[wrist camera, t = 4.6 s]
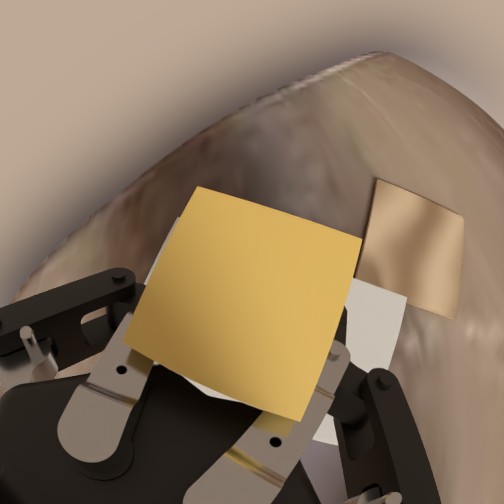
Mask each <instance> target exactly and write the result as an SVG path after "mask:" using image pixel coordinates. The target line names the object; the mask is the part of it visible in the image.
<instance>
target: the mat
mask: <svg viewBox="0 0 504 504" xmlns="http://www.w3.org/2000/svg"><path fill="white" fill-rule="evenodd" d="M463 249H464V218H463V217H461V216H459V215H457V214H455V213H453V212H451V211H449V210H447V209H445V208H443V207H441V206H439V205H437V204H435V203H433V202H431V201H429V200H426V199H424V198H422V197H420V196H418V195H415V194H413V193H411V192H408V191H406V190H404V189H401V188H399V187H397V186H394V185H392V184H389V183H387V182H384V181H382V180H379V179H377V181H376V184H375V190H374V195H373V201H372V206H371V211H370V216H369V221H368V225H367V230H366V234H365V239H364V243H363V247H362V252H361V256H360V260H359V264H358V267H357V271H356V275H355V279H358V280H360V281H363V282H366V283H369V284H372V285H374V286H377V287H380V288H383V289H386V290H388V291H391V292H394V293H397V294H399V295H402V296H405V297H407V301H406V303H408V304H411V305H414V306H416V307H419V308H422V309H425V310H428V311H430V312H433V313H436V314H439V315H442V316H444V317H447V318H450V319H455V318H456V317H457V310H458V304H459V296H460V288H461V279H462V267H463Z"/></svg>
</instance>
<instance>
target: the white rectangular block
mask: <svg viewBox="0 0 504 504" xmlns="http://www.w3.org/2000/svg"><path fill="white" fill-rule="evenodd" d="M179 219H180V218H179V217H177V219H176V221H175V223H174V224H173V226H172V228H171V230H170V232H169V234H168V236H167V238H166V240H165V242H164V244H163V246H162V248H161V250H160V252H159V254H158V256H157V258H156V260H155V262H154V264H153V266H152V268H151V270H150V272H149V274H148V276H147V278H146V281H145V283H144V285H147V283H148V281H149V279H150V277H151V274H152V272H153V270H154V268H155V266H156V264H157V262H158V260H159V258H160V256H161V254H162V252H163V250H164V248H165V246H166V244H167V242H168V240H169V238H170V236H171V234H172V232H173V230H174V228H175V226H176V225H177V223H178V221H179ZM406 301H407V297H405V296H402V295H399V294H397V293H394V292H391V291H388V290H386V289H383V288H380V287H377V286H374V285H372V284H369V283H366V282H363V281H360V280H358V279H355V278H352V282H351V285H350V289H349V292H348V295H347V299H346V302H345V307H346V309H347V325H346V326H347V332H346V348H347V349H348V350H349V352H350V355H351V359H350V361H351V362H352V363H353V364H354V365H356V366H357V367H359V368H360V369H362V370H364V371H366V372H367V373H369V371H370V370H372V369H374V368H384V369H386V370H388V367H389V364H390V361H391V358H392V355H393V352H394V348H395V345H396V341H397V338H398V334H399V330H400V326H401V322H402V318H403V314H404V310H405V305H406ZM183 377H184V376H183ZM184 378H186V377H184ZM186 379H187V380H188V381H189V382H191V383H192V384H193V385H194V386H196V387H197V388H198V389H200V390H201V391H202V392H203V393H205V394H206V395H208V396H212V397H216V398H221V399H226V400H232V401H237V402H241V401H238V400H236V399H233V398H231V397H228V396H226V395H224V394H221V393H219V392H217V391H214V390H212V389H210V388H208V387H205V386H203V385H201V384H199V383H197V382H195V381H192V380H190V379H188V378H186ZM242 403H243V402H242ZM245 404H246V403H245ZM247 405H249V404H247ZM250 406H251V405H250ZM253 407H254V406H253ZM255 408H257V407H255ZM258 409H259V408H258ZM261 410H262V409H261ZM312 440H316V441H320V442H324V443H329V444H333V445H338V441H337V436H336V431H335V427H334V421H333V417H332V416H330V415H329V414H326V416H325V417H324V419H323V421H322V423H321V425H320V426H319V428H318V430H317V432H316V433H315V435H314V437H313V438H312Z"/></svg>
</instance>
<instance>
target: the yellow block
mask: <svg viewBox="0 0 504 504" xmlns="http://www.w3.org/2000/svg"><path fill="white" fill-rule="evenodd" d="M361 243H362V239H360V238H357V237H354V236H352V235H349V234H346V233H343V232H341V231H338V230H335V229H332V228H329V227H326V226H323V225H321V224H318V223H315V222H312V221H309V220H306V219H303V218H300V217H297V216H294V215H291V214H288V213H285V212H282V211H278V210H275V209H272V208H269V207H266V206H263V205H260V204H256V203H253V202H250V201H247V200H243V199H240V198H237V197H233V196H230V195H226V194H223V193H220V192H216V191H213V190H209V189H206V188H202V187H198V186H197V188H196V190H195V192H194V193H193V195H192V197H191V199H190V200H189V202H188V204H187V206H186V208H185V210H184V211H183V213H182V215H181V217H180V219H179V221H178V223H177V225H176V226H175V228H174V230H173V232H172V234H171V236H170V238H169V240H168V242H167V244H166V246H165V248H164V250H163V252H162V254H161V256H160V258H159V260H158V262H157V264H156V266H155V268H154V270H153V272H152V274H151V277H150V279H149V281H148V283H147V285H146V287H145V290H144V292H143V294H142V296H141V298H140V301H139V303H138V305H137V307H136V310H135V312H134V314H133V317H132V319H131V321H130V324H129V326H128V328H127V331H126V333H125V336H124V338H123V341H122V343H124V344H126V345H127V346H129V347H131V348H132V349H134V350H136V351H138V352H139V353H141V354H143V355H144V356H146V357H148V358H150V359H152V360H153V361H155V362H157V363H159V364H161V365H163V366H165V367H166V368H168V369H170V370H172V371H174V372H176V373H178V374H180V375H182V376H184V377H186V378H188V379H190V380H192V381H195V382H197V383H199V384H201V385H203V386H205V387H208V388H210V389H212V390H214V391H217V392H219V393H221V394H224V395H226V396H228V397H231V398H233V399H236V400H238V401H241V402H243V403H246V404H249V405H251V406H254V407H257V408H259V409H262V410H265V411H268V412H271V413H274V414H277V415H280V416H283V417H286V418H289V419H292V420H295V421H299V422H300V421H301V419H302V417H303V415H304V412H305V410H306V408H307V406H308V403H309V401H310V399H311V396H312V394H313V392H314V389H315V387H316V384H317V382H318V379H319V377H320V374H321V372H322V369H323V366H324V364H325V361H326V358H327V356H328V353H329V350H330V347H331V345H332V342H333V339H334V336H335V333H336V330H337V327H338V324H339V321H340V318H341V315H342V312H343V309H344V305H345V302H346V299H347V295H348V292H349V289H350V285H351V282H352V278H353V274H354V271H355V267H356V263H357V259H358V255H359V251H360V247H361Z"/></svg>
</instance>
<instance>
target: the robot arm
mask: <svg viewBox="0 0 504 504" xmlns="http://www.w3.org/2000/svg"><path fill="white" fill-rule="evenodd" d="M145 287H146V285H143V284H139V283H136V282H135V274H134V273H133V272H132V271H130V270H128V269H125V268H113V269H109V270H106V271H103V272H100V273H97V274H94V275H91V276H88V277H86V278H83V279H80V280H77V281H74V282H71V283H68V284H65V285H62V286H60V287H57V288H54V289H51V290H48V291H45V292H43V293H40V294H37V295H34V296H32V297H29V298H26V299H23V300H21V301H18V302H15V303H13V304H10V305H7V306H5V307H2V308H0V378H1V381H2V384H3V387H4V390H5V394H4V395H3V396H2V397H1V399H0V504H321V503H320V500H319V498H318V496H317V494H316V492H315V490H314V488H313V486H312V484H311V482H310V480H309V478H308V476H307V474H306V472H305V469H304V467H303V465H302V463H301V461H300V458H301V456H302V455H303V453H304V451H305V450H306V448H307V447H308V445H309V443H310V442H311V440H312V438H313V437H314V435H315V433H316V432H317V430H318V428H319V426H320V425H321V423H322V421H323V419H324V417H325V416H326V414H329V415H330V416H332V417H333V421H334V427H335V431H336V436H337V441H338V446H339V452H340V457H341V462H342V467H343V473H344V479H345V484H346V490H347V496H348V500H347V501H345V502H344V503H343V504H441V501H440V497H439V493H438V490H437V486H436V483H435V479H434V476H433V473H432V469H431V466H430V463H429V460H428V457H427V454H426V451H425V448H424V445H423V442H422V440H421V437H420V434H419V431H418V429H417V426H416V423H415V421H414V418H413V415H412V413H411V410H410V408H409V405H408V403H407V400H406V398H405V395H404V393H403V391H402V388H401V386H400V384H399V381H398V379H397V378H396V376H395V375H394V374H393V373H391V372H390V371H388V370H386V369H384V368H374V369H372V370H370V371H369V373H367V372H366V371H364V370H362V369H360V368H359V367H357V366H356V365H354V364H353V363H352V362H351V361H350V359H351V355H350V352H349V350H348V349H347V348H346V332H347V326H346V325H347V309H346V307H345V305H344V309H343V312H342V315H341V318H340V321H339V324H338V327H337V330H336V333H335V336H334V339H333V342H332V345H331V347H330V350H329V353H328V356H327V358H326V361H325V364H324V366H323V369H322V372H321V374H320V377H319V379H318V382H317V384H316V387H315V389H314V392H313V394H312V396H311V399H310V401H309V403H308V406H307V408H306V410H305V412H304V415H303V417H302V419H301V421H300V422H299V421H295V420H292V419H289V418H286V417H283V416H280V415H277V414H274V413H271V412H268V411H265V410H261V409H258V408H255V407H253V406H250V405H247V404H245V403H242V402H237V401H232V400H226V399H221V398H216V397H212V396H208V395H206V394H205V393H203V392H202V391H201V390H200V389H198V388H197V387H196V386H194V385H193V384H192V383H191V382H189V381H188V380H187V379H186V378H184V377H183V376H182V375H180V374H178V373H176V372H174V371H172V370H170V369H168V368H166V367H165V366H163V365H161V364H159V363H157V362H155V361H153V360H152V359H150V358H148V357H146V356H144V355H143V354H141V353H139V352H138V351H136V350H134V349H132V348H131V347H129V346H127V345H126V344H124V343H122V341H123V338H124V336H125V333H126V331H127V328H128V326H129V324H130V321H131V319H132V317H133V314H134V312H135V310H136V307H137V305H138V303H139V301H140V298H141V296H142V294H143V292H144V290H145ZM103 307H106V314H105V315H103V316H100V317H98V318H96V319H93V320H91V321H88V322H86V323H84V324H81V319H82V318H83V316H84V315H86V314H88V313H90V312H93V311H95V310H98V309H100V308H103ZM103 350H104V352H103V353H102V355H101V357H100V358H99V360H98V362H97V364H96V365H95V367H94V369H93V371H92V372H91V373H88V374H83V375H77V376H72V377H66V378H60V379H55V378H54V377H55V376H56V374H57V372H59V371H61V370H63V369H65V368H67V367H70V366H72V365H74V364H76V363H78V362H80V361H82V360H85V359H87V358H89V357H91V356H93V355H95V354H97V353H99V352H101V351H103Z"/></svg>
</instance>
